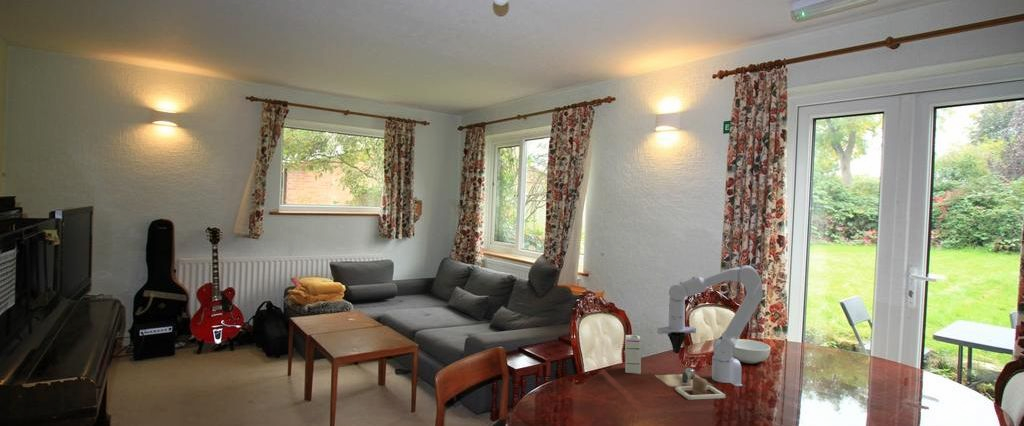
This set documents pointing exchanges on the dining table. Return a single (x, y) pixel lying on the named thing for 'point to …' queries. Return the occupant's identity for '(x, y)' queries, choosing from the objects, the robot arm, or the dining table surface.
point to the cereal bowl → (750, 351)
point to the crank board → (676, 380)
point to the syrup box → (632, 354)
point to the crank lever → (688, 375)
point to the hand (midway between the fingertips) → (676, 352)
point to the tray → (707, 396)
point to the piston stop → (699, 386)
